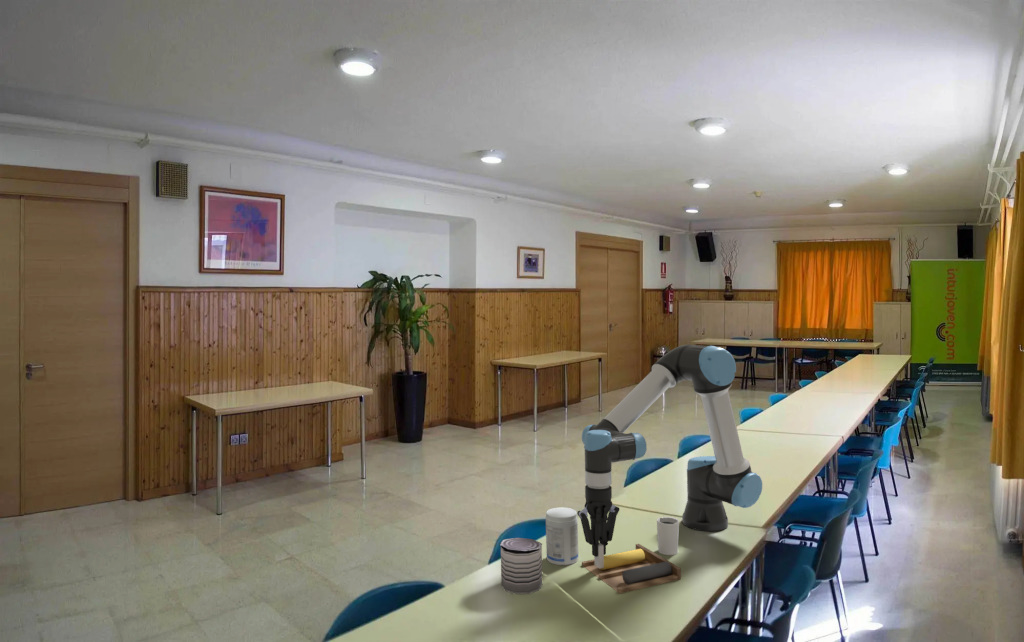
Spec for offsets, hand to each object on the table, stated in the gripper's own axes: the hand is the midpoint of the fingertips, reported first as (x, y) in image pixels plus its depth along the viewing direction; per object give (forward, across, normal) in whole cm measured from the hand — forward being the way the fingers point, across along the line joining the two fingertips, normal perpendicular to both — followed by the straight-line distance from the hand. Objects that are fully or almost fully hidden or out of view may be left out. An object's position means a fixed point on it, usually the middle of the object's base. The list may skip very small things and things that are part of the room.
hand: (599, 566), depth 186 cm
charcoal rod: (+1, -9, +11) cm, 14 cm away
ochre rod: (0, -8, +1) cm, 8 cm away
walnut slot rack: (+2, -7, +5) cm, 9 cm away
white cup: (+2, -26, -3) cm, 27 cm away
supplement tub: (+2, +6, -12) cm, 13 cm away
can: (+2, +24, -2) cm, 24 cm away
